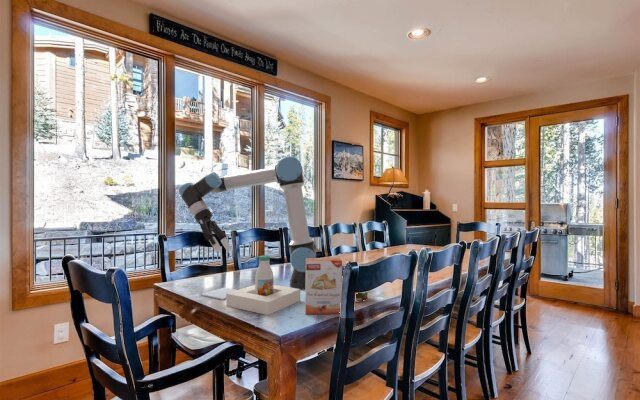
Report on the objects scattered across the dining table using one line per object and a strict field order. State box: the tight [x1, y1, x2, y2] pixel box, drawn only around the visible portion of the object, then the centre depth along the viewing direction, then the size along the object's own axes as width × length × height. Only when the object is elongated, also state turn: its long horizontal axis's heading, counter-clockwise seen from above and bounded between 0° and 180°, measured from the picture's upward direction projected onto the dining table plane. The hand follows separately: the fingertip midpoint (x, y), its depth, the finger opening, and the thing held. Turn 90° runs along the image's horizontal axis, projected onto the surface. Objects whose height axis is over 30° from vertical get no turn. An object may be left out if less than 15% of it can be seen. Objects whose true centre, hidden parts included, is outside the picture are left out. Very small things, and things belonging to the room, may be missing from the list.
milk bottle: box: [254, 254, 274, 296], centre depth 145 cm, size 8×8×20 cm
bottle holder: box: [225, 284, 301, 316], centre depth 145 cm, size 22×22×5 cm
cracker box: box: [304, 257, 343, 315], centre depth 134 cm, size 14×6×21 cm, turn 95°
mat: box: [200, 287, 237, 301], centre depth 159 cm, size 14×14×1 cm
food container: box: [356, 291, 369, 301], centre depth 152 cm, size 12×6×10 cm, turn 168°
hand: (224, 250), depth 157 cm, fingers open, 13 cm apart
